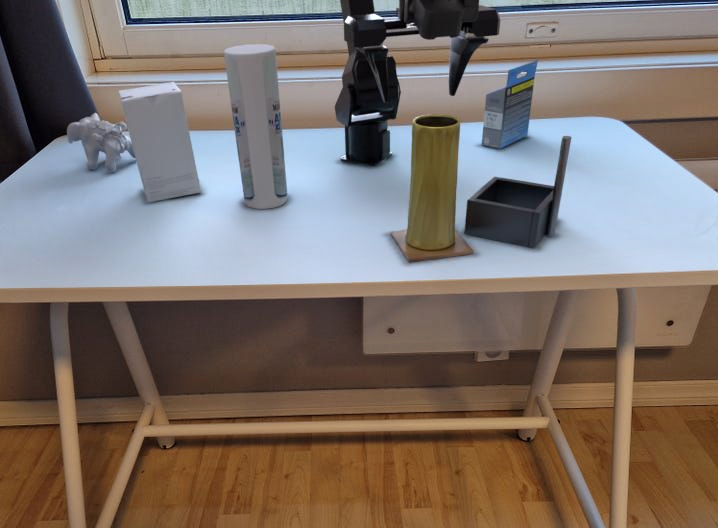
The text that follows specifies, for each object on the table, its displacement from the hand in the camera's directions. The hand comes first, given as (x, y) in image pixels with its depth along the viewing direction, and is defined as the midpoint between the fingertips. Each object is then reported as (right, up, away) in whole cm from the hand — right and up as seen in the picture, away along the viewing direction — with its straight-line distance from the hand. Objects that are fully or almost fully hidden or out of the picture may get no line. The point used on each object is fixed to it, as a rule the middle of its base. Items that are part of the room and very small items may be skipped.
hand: (419, 98), depth 84 cm
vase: (+1, -20, -6) cm, 21 cm away
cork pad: (+1, -20, -6) cm, 21 cm away
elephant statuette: (-51, -2, +24) cm, 56 cm away
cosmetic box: (-36, -9, +12) cm, 39 cm away
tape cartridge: (+18, +3, +25) cm, 31 cm away
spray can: (-21, -12, +8) cm, 25 cm away
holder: (+11, -18, -3) cm, 21 cm away
